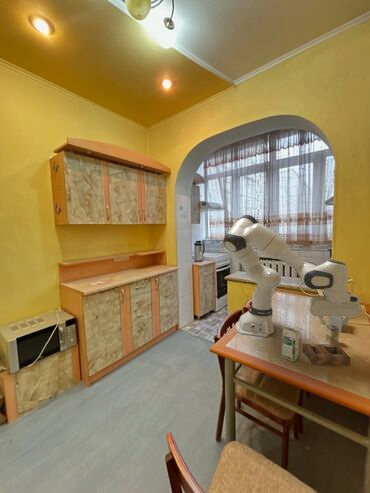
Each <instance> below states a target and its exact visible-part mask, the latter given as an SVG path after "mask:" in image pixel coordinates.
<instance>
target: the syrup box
mask: <svg viewBox="0 0 370 493" xmlns="http://www.w3.org/2000/svg"><path fill="white" fill-rule="evenodd" d="M299 340H300V328H296V327H294V326H293V327H292V326H289V325H286V326H285V327H283V329H282V348H281V349H282V351H281V358H283V359H287V360H289V361H291V362H292V363H295V362H296V360H297V359H298V357H299V346H300V345H299V342H300V341H299Z"/></svg>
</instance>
